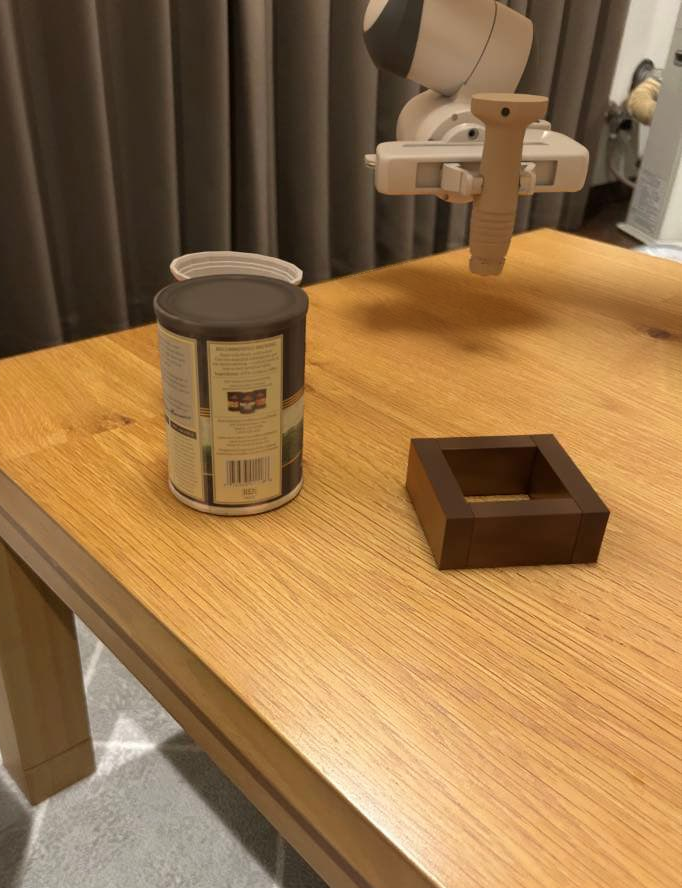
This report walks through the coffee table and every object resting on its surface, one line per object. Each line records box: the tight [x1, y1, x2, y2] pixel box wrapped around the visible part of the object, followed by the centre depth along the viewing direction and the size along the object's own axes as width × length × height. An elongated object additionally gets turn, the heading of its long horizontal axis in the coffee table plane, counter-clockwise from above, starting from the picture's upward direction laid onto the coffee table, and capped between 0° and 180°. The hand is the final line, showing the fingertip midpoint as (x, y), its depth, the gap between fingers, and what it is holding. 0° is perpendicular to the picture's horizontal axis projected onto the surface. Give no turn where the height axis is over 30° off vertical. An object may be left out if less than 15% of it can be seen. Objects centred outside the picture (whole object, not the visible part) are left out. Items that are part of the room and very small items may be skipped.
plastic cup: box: [169, 250, 303, 286], centre depth 73 cm, size 11×11×12 cm
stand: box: [405, 433, 611, 570], centre depth 60 cm, size 11×11×4 cm
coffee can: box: [153, 274, 310, 517], centre depth 61 cm, size 10×10×14 cm
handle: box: [468, 93, 550, 278], centre depth 78 cm, size 5×6×15 cm
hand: (501, 186), depth 77 cm, fingers closed on handle, 3 cm apart
